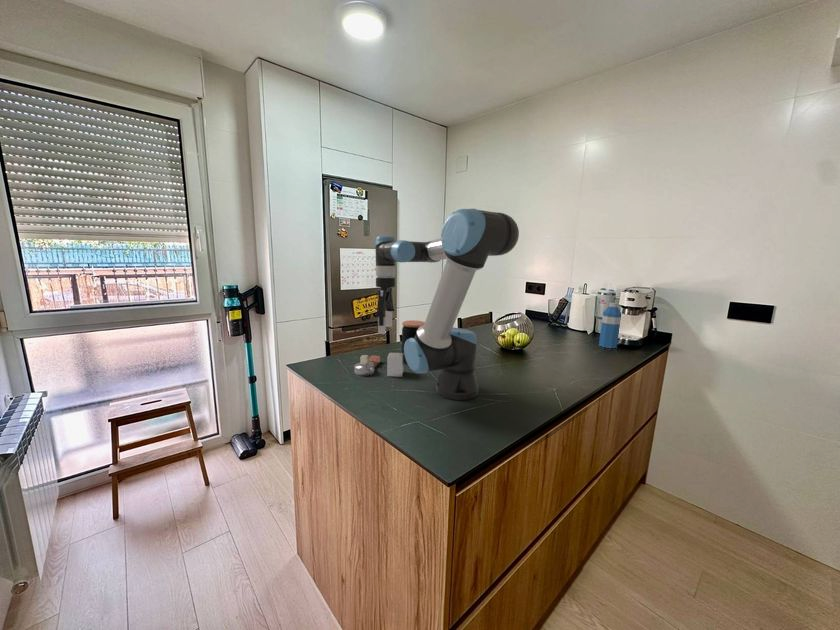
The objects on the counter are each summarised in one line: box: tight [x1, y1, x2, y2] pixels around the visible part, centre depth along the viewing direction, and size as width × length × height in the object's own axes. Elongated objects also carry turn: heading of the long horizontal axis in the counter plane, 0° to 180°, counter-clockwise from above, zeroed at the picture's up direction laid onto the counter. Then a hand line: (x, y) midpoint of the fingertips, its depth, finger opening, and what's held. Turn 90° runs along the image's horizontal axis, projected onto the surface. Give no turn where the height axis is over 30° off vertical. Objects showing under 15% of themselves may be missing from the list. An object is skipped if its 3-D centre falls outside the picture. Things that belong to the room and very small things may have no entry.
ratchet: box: [354, 354, 381, 377], centre depth 140 cm, size 18×8×7 cm, turn 168°
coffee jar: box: [401, 320, 425, 365], centre depth 150 cm, size 11×11×18 cm
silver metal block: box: [386, 352, 405, 378], centre depth 135 cm, size 6×6×8 cm
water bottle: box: [598, 302, 622, 349], centre depth 182 cm, size 9×9×25 cm
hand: (385, 330), depth 133 cm, fingers open, 13 cm apart
